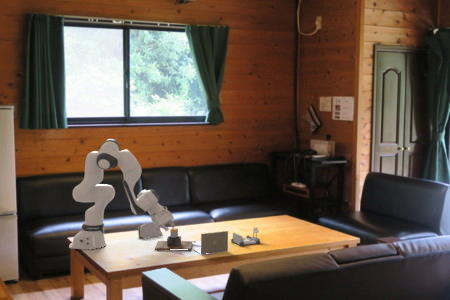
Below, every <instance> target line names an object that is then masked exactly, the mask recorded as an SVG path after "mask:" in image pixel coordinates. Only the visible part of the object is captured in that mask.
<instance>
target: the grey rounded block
mask: <svg viewBox="0 0 450 300" xmlns="http://www.w3.org/2000/svg"><path fill="white" fill-rule="evenodd" d="M137 233H138V238H139V237H141V238H142V239H143V238H146V239H148V238H147V237H151V238H153V237H152V236H156V237H160V236H159V235H161V236H163V232H162V231H161V227H159V228H158V227H156V226H155V224H154V223H153V222H146V223H144V224H142V225H140V226H138V227H137Z"/></svg>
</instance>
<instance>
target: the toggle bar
mask: <svg viewBox="0 0 450 300" xmlns="http://www.w3.org/2000/svg"><path fill="white" fill-rule="evenodd" d="M169 230H170V232H169V233H170V235H169V236H170V239H178V236H179V229H178V228H175V227H174V228H172V227H171V229H170V228H169Z"/></svg>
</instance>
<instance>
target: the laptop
mask: <svg viewBox="0 0 450 300" xmlns="http://www.w3.org/2000/svg"><path fill="white" fill-rule="evenodd" d="M200 239H201V240H200V248H201V254H204V255H207V254H206V253H213V254H219V252H221V253H228V252H229V251H228V250H229V231H228V230H225V231H216V232H208V233H207V232H206V233H201V234H200Z"/></svg>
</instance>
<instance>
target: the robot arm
mask: <svg viewBox="0 0 450 300" xmlns="http://www.w3.org/2000/svg"><path fill="white" fill-rule="evenodd" d="M120 147H121V146H120V143H119V142H118V140H116V139H113V138H108V139H106V140H104V142H103V143H101V145H100V146H99V150H98V151H91V152H89V153H88V154H87V155H86V158H85V161H84V162H85V163H84V177H83V180H82V181H81V182H80V183H79V184H78V185H77V184H76V186H75V187H74V188H73V189H72V197H73V198H72V199H73V200H75V202H79V203H94V205H93V206H91V207H89V208H88V209H86V211H85V212H84V223H82V225H81V229H82V230H79V232H78V233H76V234H75V235H74V236H73V239H72V242H70V244H69V246H68V248H69V249H77V250H88V249H89V250H92V249H93V250H97V249H102V248H105V247H106V246H107V243H106V240H105V223H104V216H105V215H104V213H105V209H106V207H107V206H108V204H109V203H110V202H111V201H112V200H113V199H114V197H115V195H116V190H115V187H113V185H111V184H106V183H105V184H104V183H103V184H102V181H103V180H104V170H105V171H106V170H111V169H115V168H117V167H119V169H120V170H121V172H122V174H123V180H122V186H123V188H124V189H123V190H124V192H125V194H126V197H127V199H128V202H129V207H130V209H131V212H132V213H133V214H134V215H135V216H143V215H144V214H145V213H148V214H149V216H150V219H151V221H152V222H151V223H154V224H155V226H156V227H158V228H159V227H160V228H161V229H163V230H164V231H165V232H168V231H169V230H170V228H169V227H168V226H166V225H167V224H170V227H171V229H172V228H175V227H176V225H175V223H174V219H175V217H174V215H173V214H172V213H171V211H169V209H168V207H167V206H164V205H161V204H160V203H159V201H160V196H159V194H158V193H157V192H156V191H155V190H154V189H148V190H147V189H143V190H141V191H140V192H139V193H138V194H137V195H136V194H135V192H134V188H135V186H136V183H137V182H138V181H139V179H140V178H141V175H142V172H143V171H142V167H141V164H140V162H139V160H138V159H137V158H136V157H135V155H134V154H133V153H132V152H131V151H130V150H128V149H123V150H120ZM104 246H105V247H104ZM101 247H102V248H101ZM96 248H97V249H96ZM89 250H88V251H89Z"/></svg>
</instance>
